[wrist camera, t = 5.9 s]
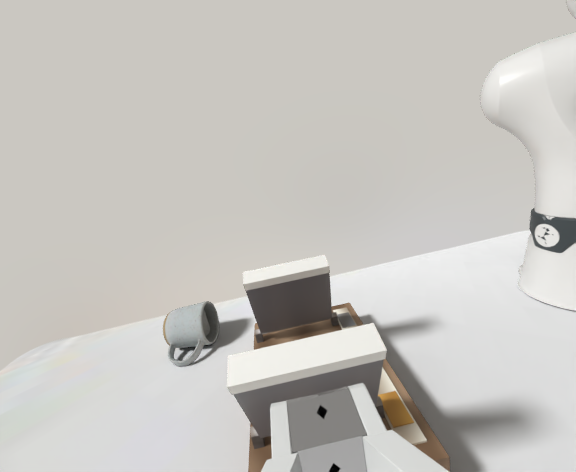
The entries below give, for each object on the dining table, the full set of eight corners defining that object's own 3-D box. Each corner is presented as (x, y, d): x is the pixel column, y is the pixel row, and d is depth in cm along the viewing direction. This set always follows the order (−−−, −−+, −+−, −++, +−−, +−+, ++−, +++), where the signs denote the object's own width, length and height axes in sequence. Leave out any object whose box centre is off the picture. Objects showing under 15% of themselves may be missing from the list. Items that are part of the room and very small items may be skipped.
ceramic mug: (184, 332, 55) (172, 300, 53) (222, 326, 55) (212, 293, 53) (159, 372, 45) (144, 334, 43) (206, 365, 45) (192, 327, 42)
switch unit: (352, 322, 48) (348, 292, 47) (450, 490, 23) (448, 439, 21) (259, 343, 47) (252, 313, 46) (257, 540, 22) (241, 491, 21)
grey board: (366, 388, 27) (373, 322, 20) (376, 413, 25) (387, 350, 18) (258, 414, 26) (227, 355, 19) (260, 441, 24) (226, 387, 18)
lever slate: (328, 307, 42) (324, 254, 35) (332, 318, 40) (329, 265, 34) (259, 322, 42) (242, 272, 35) (261, 334, 40) (243, 284, 33)
